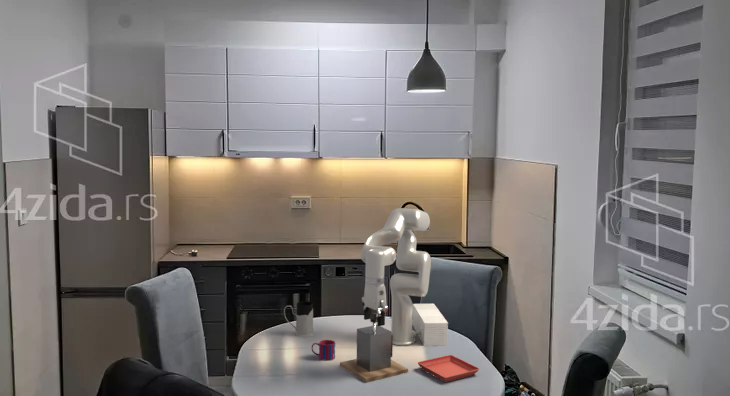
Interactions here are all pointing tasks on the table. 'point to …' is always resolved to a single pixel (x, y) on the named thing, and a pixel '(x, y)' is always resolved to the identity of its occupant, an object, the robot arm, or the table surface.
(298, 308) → the grey and black pitcher
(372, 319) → the plunger
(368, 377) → the board
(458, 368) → the plant saucer
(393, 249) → the robot arm
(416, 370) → the table surface
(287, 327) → the table surface
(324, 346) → the mug
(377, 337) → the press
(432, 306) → the white rectangular block
